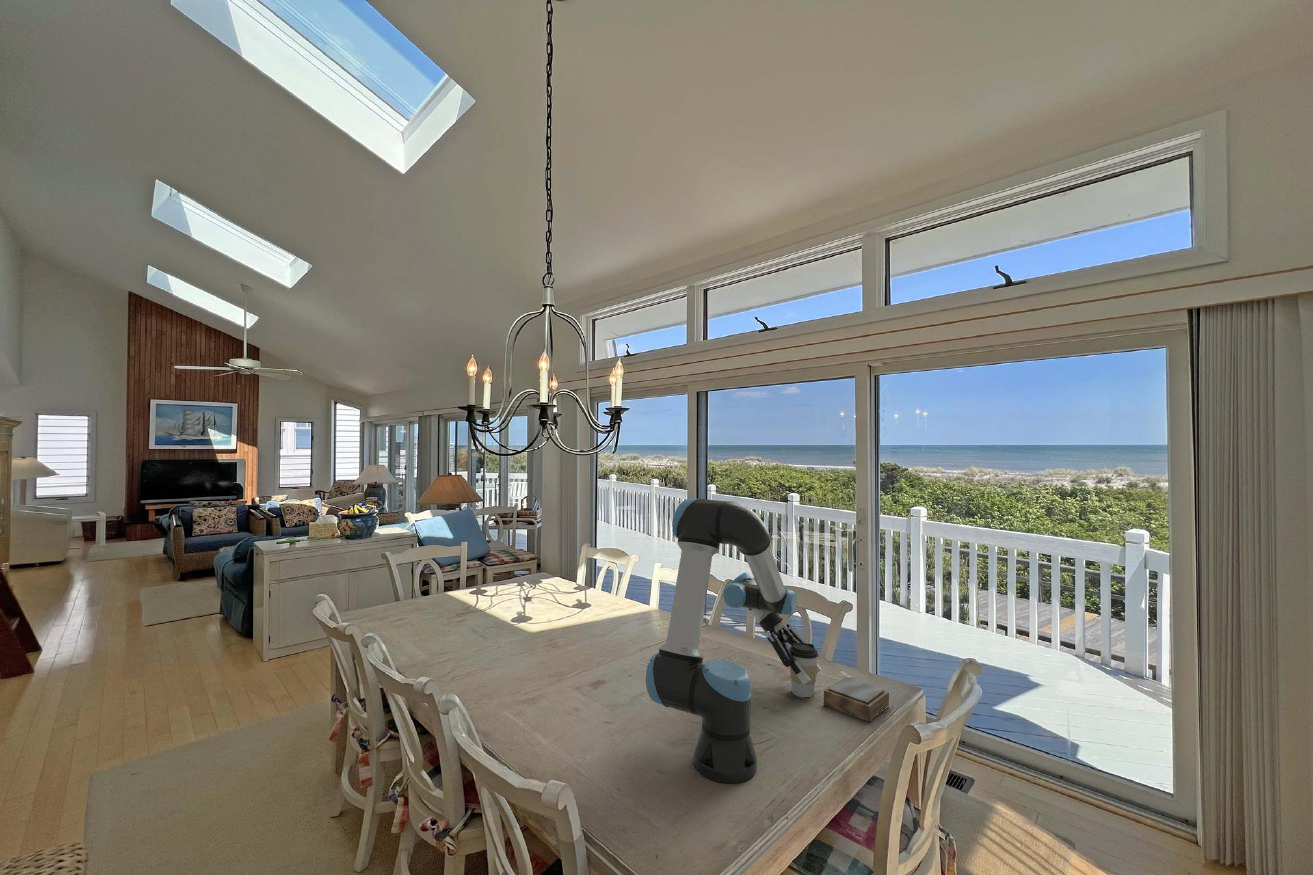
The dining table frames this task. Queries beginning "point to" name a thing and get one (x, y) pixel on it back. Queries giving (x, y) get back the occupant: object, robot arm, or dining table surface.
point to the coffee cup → (804, 668)
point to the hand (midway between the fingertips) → (812, 676)
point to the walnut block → (856, 698)
